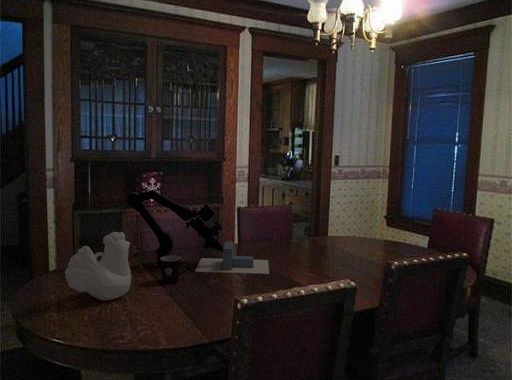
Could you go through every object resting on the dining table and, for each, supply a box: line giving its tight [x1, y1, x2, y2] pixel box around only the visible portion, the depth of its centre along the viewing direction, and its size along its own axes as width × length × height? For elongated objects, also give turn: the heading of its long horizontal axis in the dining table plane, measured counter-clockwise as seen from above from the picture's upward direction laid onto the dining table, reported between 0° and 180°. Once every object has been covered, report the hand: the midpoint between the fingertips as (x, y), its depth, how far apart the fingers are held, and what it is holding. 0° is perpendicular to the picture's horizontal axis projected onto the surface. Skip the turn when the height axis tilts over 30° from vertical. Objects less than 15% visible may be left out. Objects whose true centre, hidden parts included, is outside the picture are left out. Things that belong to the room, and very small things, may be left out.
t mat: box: [194, 257, 270, 275], centre depth 205 cm, size 34×22×1 cm, turn 90°
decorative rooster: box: [64, 231, 132, 301], centre depth 159 cm, size 25×16×25 cm, turn 127°
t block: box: [222, 241, 254, 270], centre depth 205 cm, size 14×14×10 cm
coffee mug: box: [160, 255, 190, 285], centre depth 180 cm, size 12×9×10 cm
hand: (223, 251), depth 204 cm, fingers closed, pressing on t block
